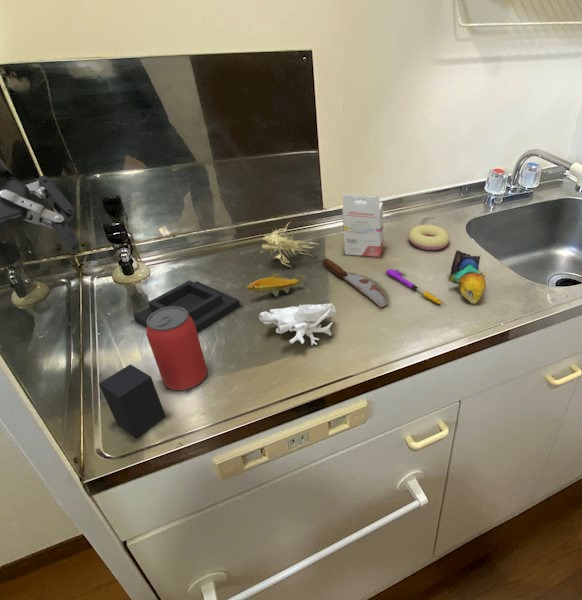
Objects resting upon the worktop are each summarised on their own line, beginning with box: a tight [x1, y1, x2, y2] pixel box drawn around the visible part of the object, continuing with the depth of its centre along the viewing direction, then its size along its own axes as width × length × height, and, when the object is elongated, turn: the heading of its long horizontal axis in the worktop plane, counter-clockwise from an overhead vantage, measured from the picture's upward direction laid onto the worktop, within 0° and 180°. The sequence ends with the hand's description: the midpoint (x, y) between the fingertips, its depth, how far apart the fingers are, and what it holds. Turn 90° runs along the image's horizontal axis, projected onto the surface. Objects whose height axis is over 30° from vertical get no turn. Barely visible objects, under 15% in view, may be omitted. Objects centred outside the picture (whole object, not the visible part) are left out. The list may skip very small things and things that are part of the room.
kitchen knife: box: [322, 258, 388, 309], centre depth 99 cm, size 21×2×5 cm
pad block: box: [98, 364, 166, 439], centre depth 65 cm, size 5×5×8 cm
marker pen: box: [386, 268, 443, 305], centre depth 98 cm, size 3×1×16 cm
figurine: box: [447, 249, 488, 305], centre depth 97 cm, size 11×8×6 cm, turn 169°
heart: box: [258, 303, 337, 346], centre depth 83 cm, size 12×7×12 cm
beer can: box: [145, 306, 208, 391], centre depth 72 cm, size 7×7×12 cm
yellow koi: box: [245, 273, 308, 298], centre depth 94 cm, size 12×2×5 cm, turn 121°
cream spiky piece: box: [261, 221, 319, 268], centre depth 104 cm, size 11×15×9 cm
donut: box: [408, 224, 450, 251], centre depth 114 cm, size 10×5×9 cm
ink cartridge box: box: [341, 193, 384, 258], centre depth 107 cm, size 9×5×15 cm, turn 83°
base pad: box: [133, 280, 241, 334], centre depth 88 cm, size 14×12×4 cm
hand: (40, 264), depth 59 cm, fingers open, 8 cm apart
